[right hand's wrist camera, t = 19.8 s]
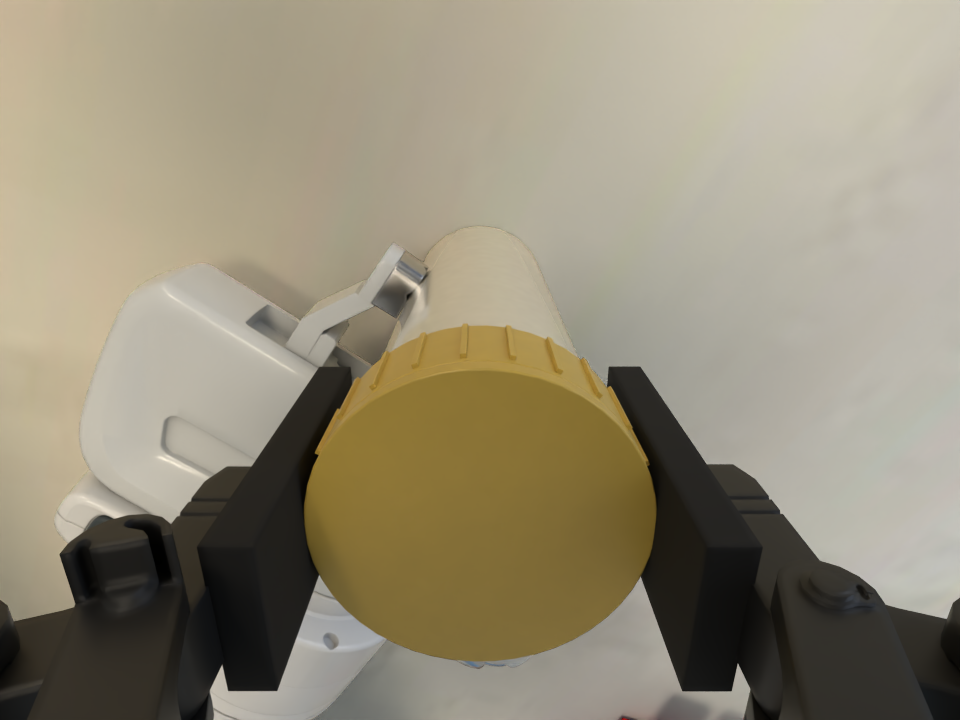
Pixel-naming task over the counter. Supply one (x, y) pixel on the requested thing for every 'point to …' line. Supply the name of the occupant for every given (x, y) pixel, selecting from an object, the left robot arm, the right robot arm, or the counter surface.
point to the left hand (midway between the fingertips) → (493, 313)
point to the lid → (480, 497)
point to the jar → (481, 289)
